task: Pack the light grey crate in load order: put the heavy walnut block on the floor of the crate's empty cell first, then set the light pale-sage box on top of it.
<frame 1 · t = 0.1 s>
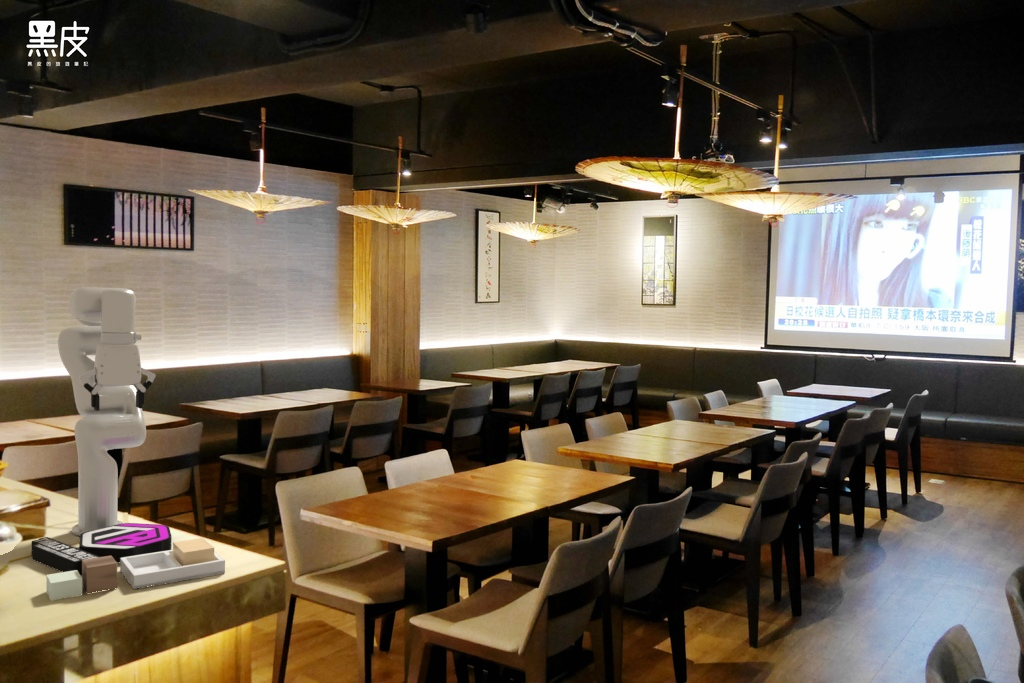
hand: (118, 408, 204), 37 cm above the worktop, tool pointing down, fingers open, 9 cm apart
crate: (172, 572, 196), on the worktop
sage box: (64, 594, 181), on the worktop
walnut block: (99, 587, 185), on the worktop
sign: (112, 554, 209), on the worktop
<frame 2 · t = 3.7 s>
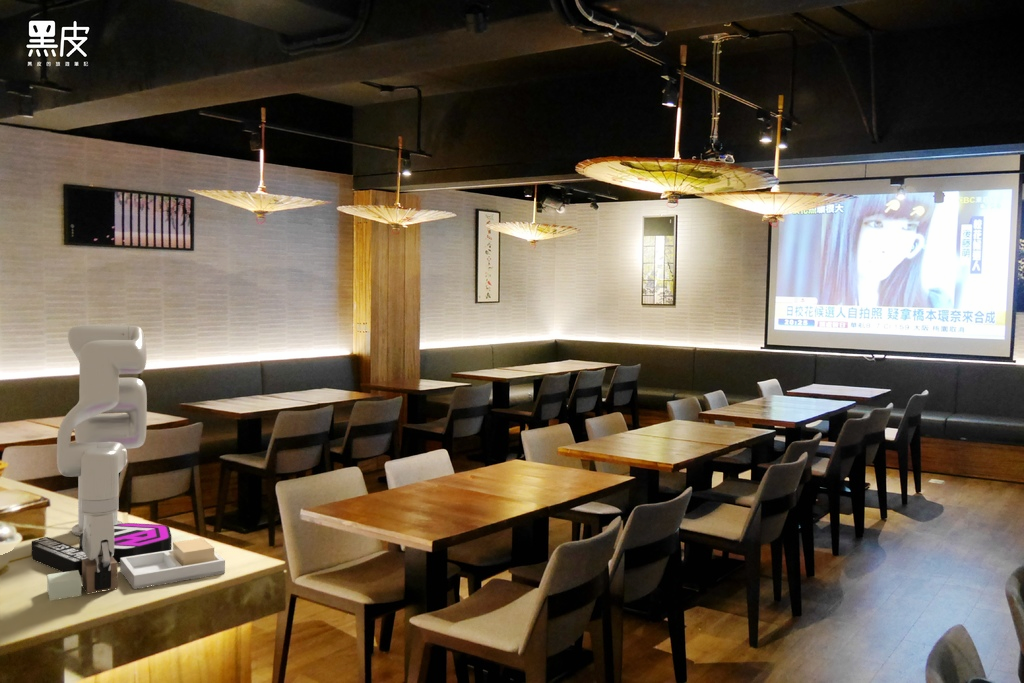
hand: (99, 583, 185), 1 cm above the worktop, tool pointing down, fingers closed on walnut block, 6 cm apart
walnut block: (99, 587, 185), on the worktop, touching gripper
everything else where it was.
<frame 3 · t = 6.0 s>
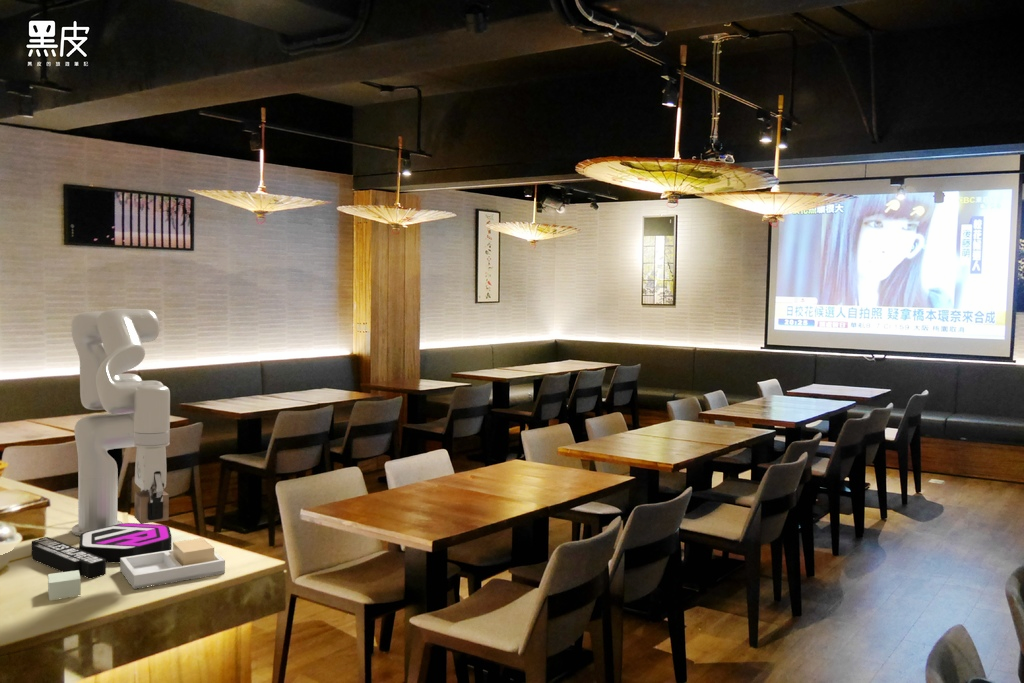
hand: (151, 514, 192), 14 cm above the worktop, tool pointing down, fingers closed on walnut block, 6 cm apart
walnut block: (151, 518, 192), point 14 cm above the worktop, touching gripper
everything else where it was.
when the fingers open (4 cm above the worktop, at t = 8.2 s): walnut block drops 2 cm, resting on crate.
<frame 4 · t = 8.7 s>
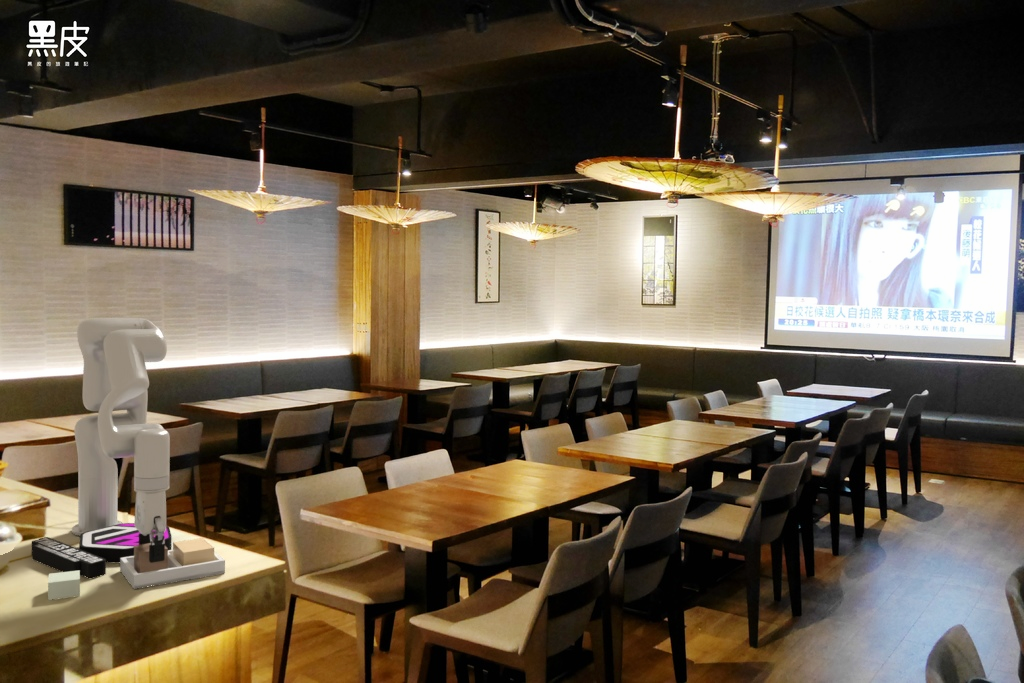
hand: (151, 555, 193), 5 cm above the worktop, tool pointing down, fingers open, 9 cm apart
walnut block: (150, 572, 193), point 1 cm above the worktop, touching crate
everything else where it was.
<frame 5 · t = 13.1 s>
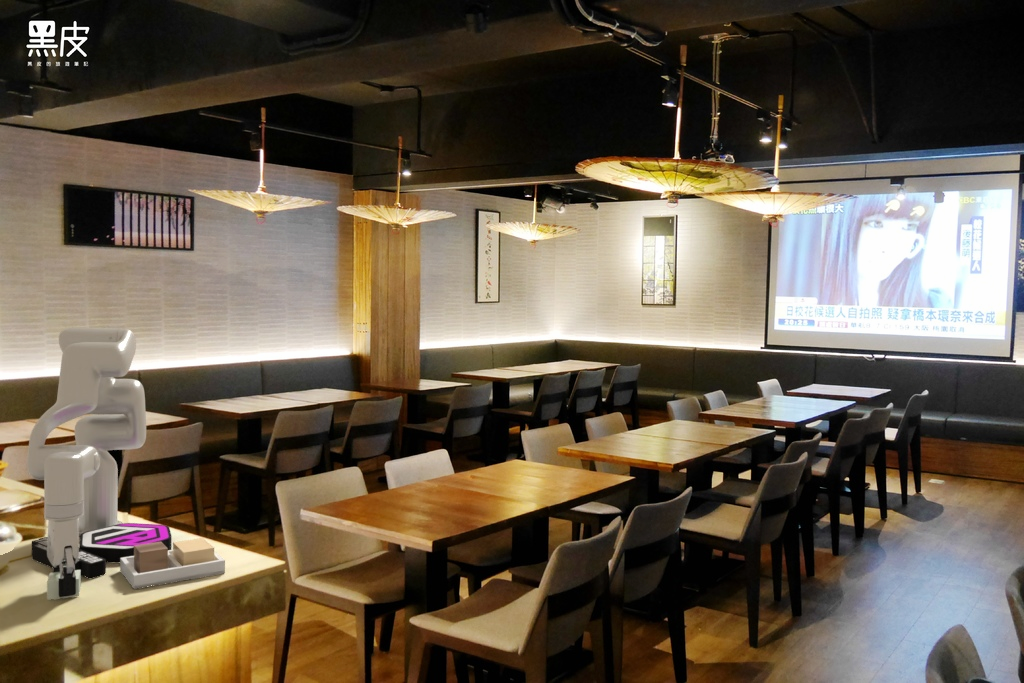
hand: (64, 589, 181), 1 cm above the worktop, tool pointing down, fingers closed on sage box, 6 cm apart
sage box: (64, 593, 181), on the worktop, touching gripper
everything else where it was.
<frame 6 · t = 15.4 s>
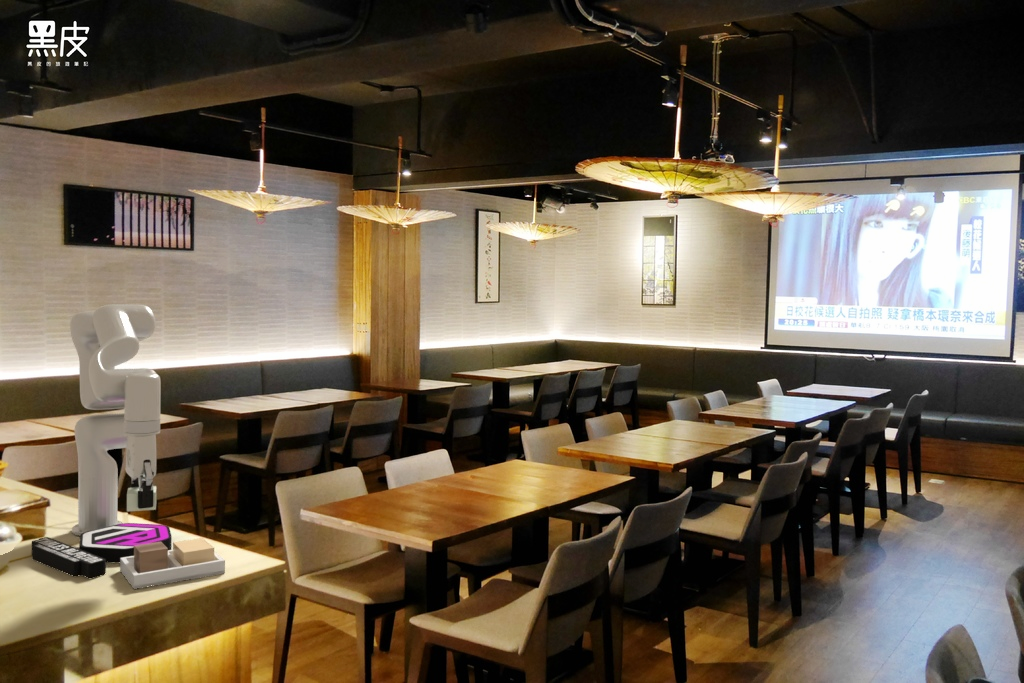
hand: (141, 503, 190), 18 cm above the worktop, tool pointing down, fingers closed on sage box, 6 cm apart
sage box: (141, 507, 190), point 17 cm above the worktop, touching gripper
everything else where it was.
when the fingers open (9 cm above the worktop, at t = 17.7 s): sage box drops 1 cm, resting on walnut block.
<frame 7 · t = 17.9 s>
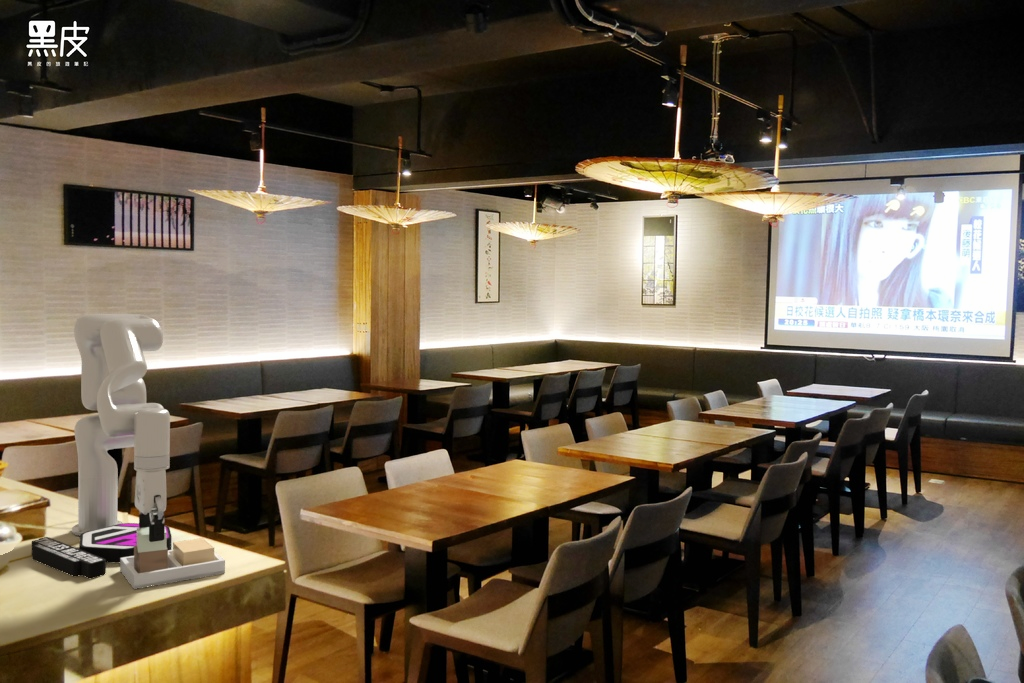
hand: (151, 535, 192), 10 cm above the worktop, tool pointing down, fingers open, 8 cm apart
sage box: (151, 547, 193), point 7 cm above the worktop, touching walnut block
walnut block: (150, 572, 193), point 1 cm above the worktop, touching crate, sage box
everything else where it was.
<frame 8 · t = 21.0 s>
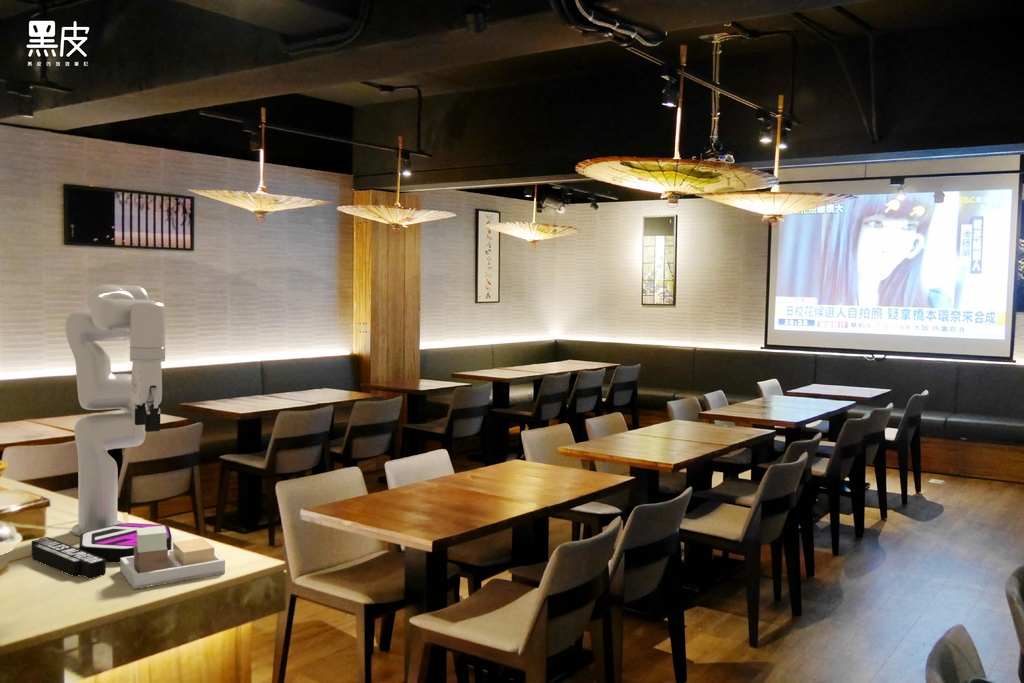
hand: (147, 427, 193), 34 cm above the worktop, tool pointing down, fingers open, 9 cm apart
nothing on the worktop moved.
at the end: walnut block inside the target area on the crate (0.4 cm from its centre), point 0.8 cm above the crate's base; sage box 0.3 cm off-centre on the walnut block, point 6.0 cm above the walnut block's base; sage box tilted 0° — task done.
